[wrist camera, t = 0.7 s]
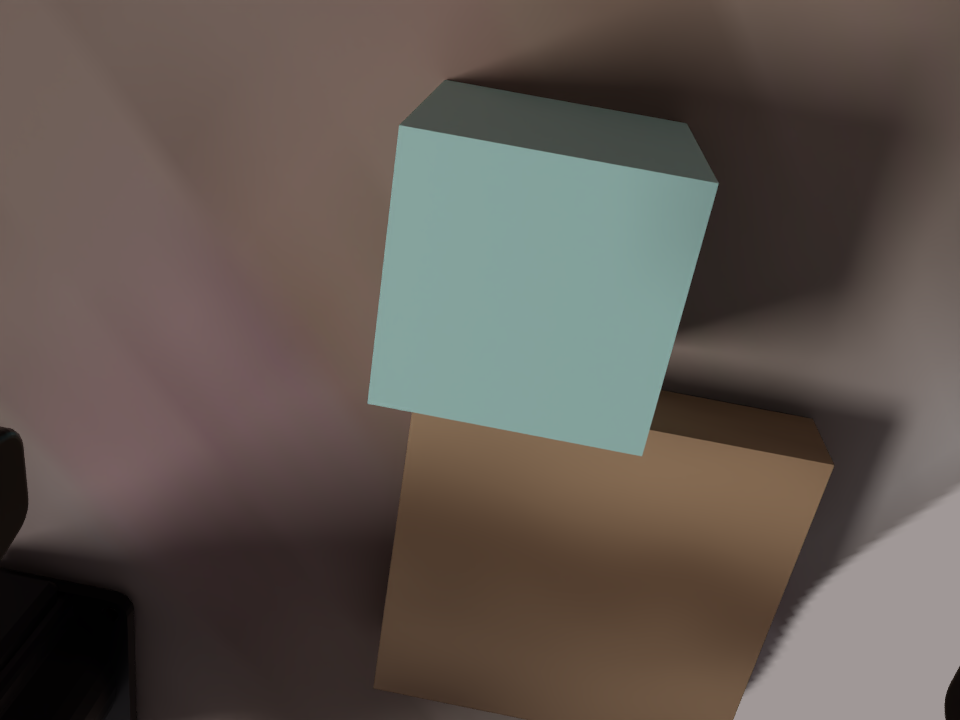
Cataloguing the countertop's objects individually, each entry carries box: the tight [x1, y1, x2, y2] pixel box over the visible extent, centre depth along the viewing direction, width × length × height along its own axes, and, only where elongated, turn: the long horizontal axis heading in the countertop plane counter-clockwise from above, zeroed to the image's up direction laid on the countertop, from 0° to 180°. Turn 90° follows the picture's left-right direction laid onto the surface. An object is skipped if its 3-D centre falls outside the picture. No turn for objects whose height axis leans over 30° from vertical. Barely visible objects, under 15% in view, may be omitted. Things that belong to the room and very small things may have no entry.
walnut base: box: [373, 390, 834, 720], centre depth 22 cm, size 9×9×2 cm
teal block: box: [367, 80, 719, 456], centre depth 17 cm, size 5×5×5 cm
